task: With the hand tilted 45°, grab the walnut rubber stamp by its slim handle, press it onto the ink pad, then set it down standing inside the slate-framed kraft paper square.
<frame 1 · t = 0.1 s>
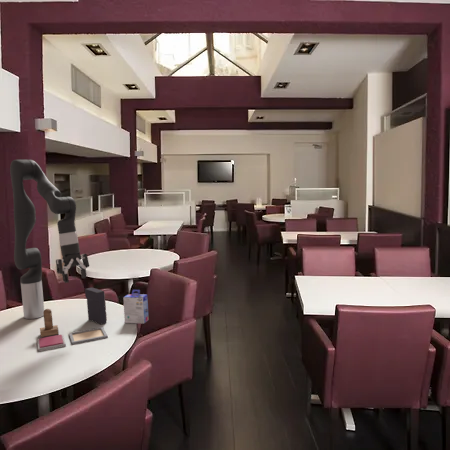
hand: (75, 280, 186), 22 cm above the table, tool pointing down, fingers open, 8 cm apart
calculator: (97, 321, 200), on the table
wooden stamp: (49, 335, 184), on the table
marked square: (88, 336, 181), on the table
ink cartridge box: (137, 322, 197), on the table
ink pad: (51, 343, 174), on the table
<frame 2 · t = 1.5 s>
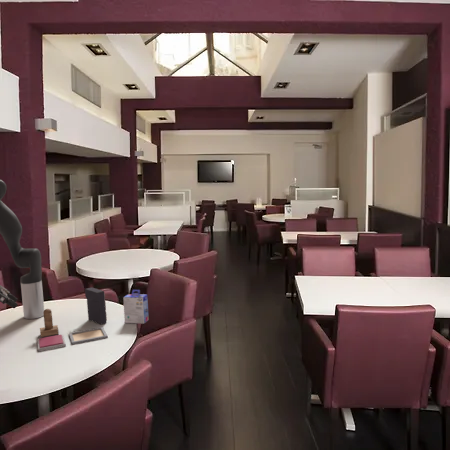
hand: (16, 303, 177), 16 cm above the table, tool tilted 45°, fingers open, 8 cm apart
nothing on the table moved.
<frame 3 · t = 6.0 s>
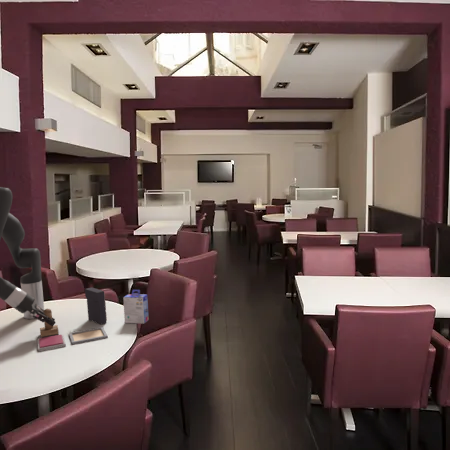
hand: (53, 322, 185), 5 cm above the table, tool tilted 45°, fingers closed on wooden stamp, 3 cm apart
wooden stamp: (49, 335, 184), on the table, touching gripper
everything else where it was.
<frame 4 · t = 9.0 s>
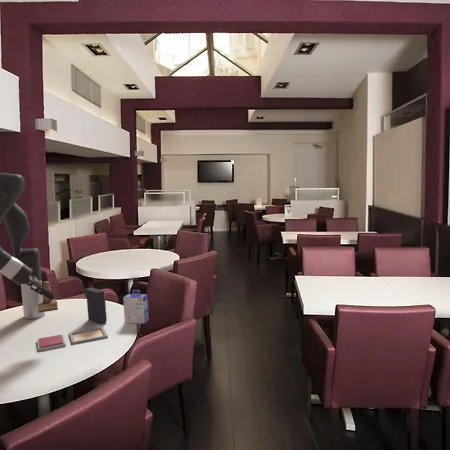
hand: (52, 296, 173), 19 cm above the table, tool tilted 45°, fingers closed on wooden stamp, 3 cm apart
wooden stamp: (47, 309, 173), point 14 cm above the table, touching gripper
everything else where it was.
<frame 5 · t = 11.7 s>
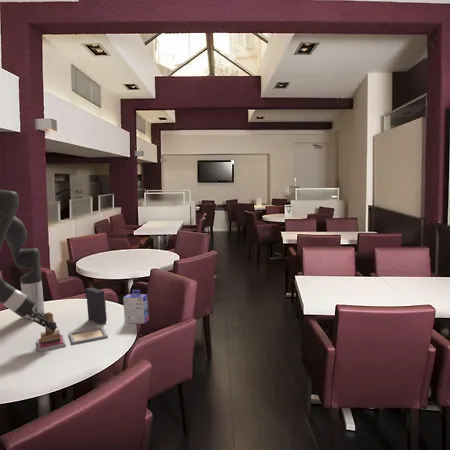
hand: (55, 327, 174), 7 cm above the table, tool tilted 45°, fingers closed on wooden stamp, 3 cm apart
wooden stamp: (50, 340, 174), point 2 cm above the table, touching gripper
everything else where it was.
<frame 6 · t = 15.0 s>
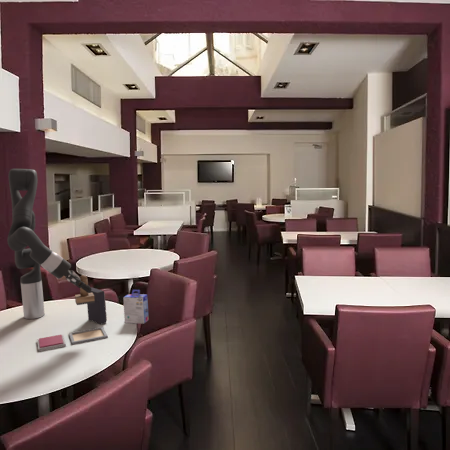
hand: (89, 289, 180), 20 cm above the table, tool tilted 45°, fingers closed on wooden stamp, 3 cm apart
wooden stamp: (85, 302, 180), point 15 cm above the table, touching gripper
everything else where it was.
when the fingers open (6 cm above the table, at t = 17.7 s): wooden stamp drops 1 cm, resting on marked square.
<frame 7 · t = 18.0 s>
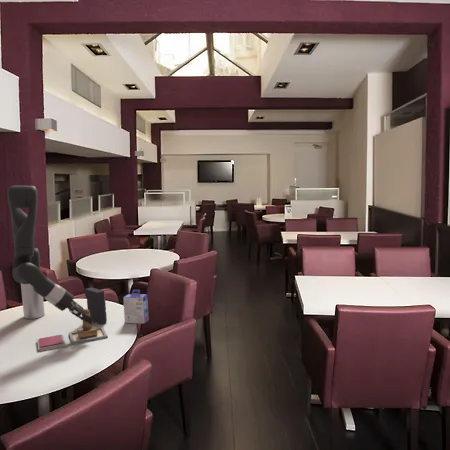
hand: (91, 319, 181), 7 cm above the table, tool tilted 45°, fingers open, 5 cm apart
wooden stamp: (87, 335, 181), resting on marked square
everything else where it was.
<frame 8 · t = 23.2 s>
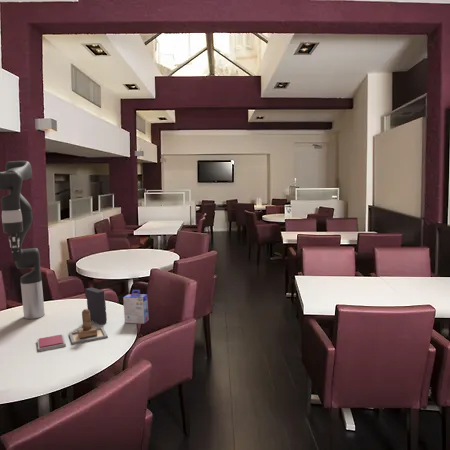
hand: (16, 259, 181), 33 cm above the table, tool pointing down, fingers open, 8 cm apart
nothing on the table moved.
at the end: wooden stamp 0.1 cm off-centre on the marked square, point 0.1 cm above the marked square's base; wooden stamp tilted 0°; the gripper is holding nothing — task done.
